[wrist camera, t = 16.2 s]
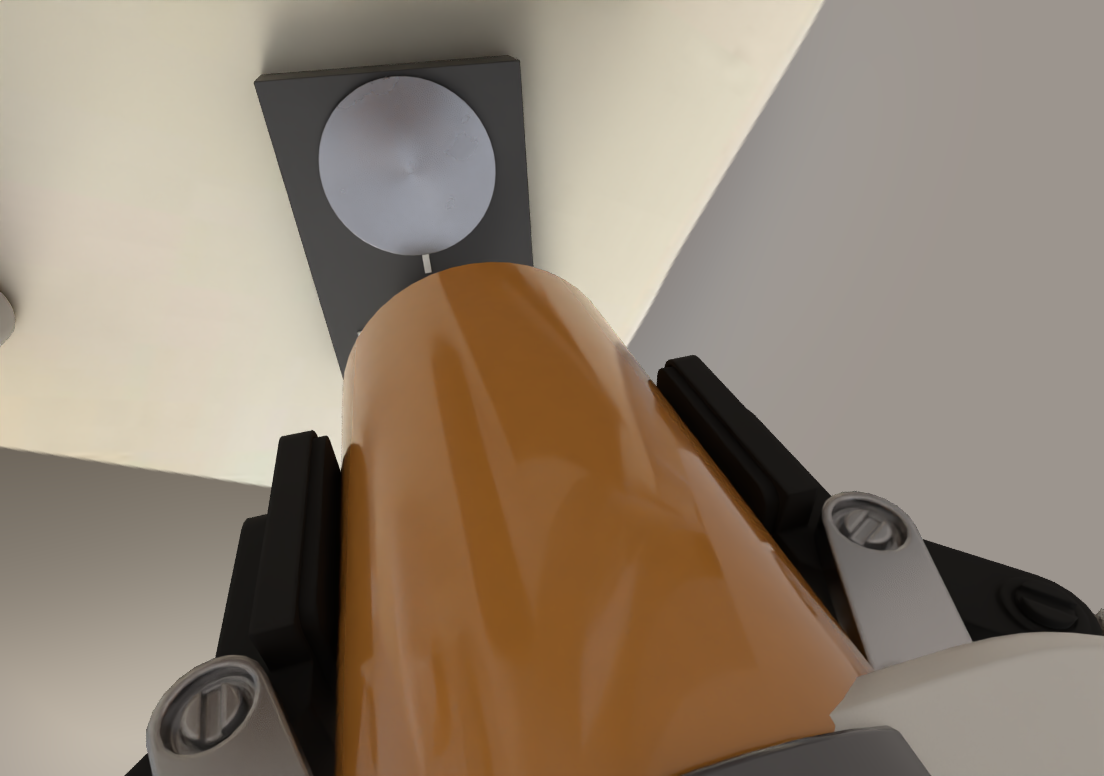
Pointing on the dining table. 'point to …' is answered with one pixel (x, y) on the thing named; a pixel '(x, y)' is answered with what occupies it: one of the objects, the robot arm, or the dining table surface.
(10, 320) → the beverage can
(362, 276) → the hot plate
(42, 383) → the dining table surface
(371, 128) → the pale grey disc
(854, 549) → the robot arm
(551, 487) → the jar
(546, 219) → the dining table surface
